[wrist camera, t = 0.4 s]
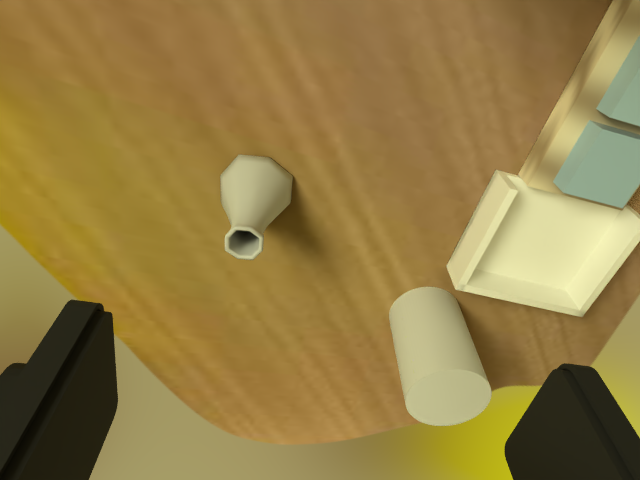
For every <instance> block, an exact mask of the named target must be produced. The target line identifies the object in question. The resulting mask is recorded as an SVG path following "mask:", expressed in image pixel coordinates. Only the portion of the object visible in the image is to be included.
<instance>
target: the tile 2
mask: <svg viewBox="0 0 640 480" xmlns="http://www.w3.org/2000/svg"><path fill="white" fill-rule="evenodd" d="M596 109H597V110H599V111H600V112H602V113H603V114H605V115H607V116H608V117H610V118H613V119H617V120H620V121H624V122H627V123H630V124H634V125H637V126H640V35H639V37H638V39H637V40H636V42H635V44H634V45H633V47H632V49H631V50H630V52H629V54H628V56H627V57H626V59H625V61H624V62H623V64H622V66H621V67H620V69H619V71H618V72H617V74H616V76H615V77H614V79H613V81H612V83H611V84H610V86H609V88H608V89H607V91H606V93H605V94H604V96H603V98H602V99H601V101H600V103H599V105H598V106H597V108H596Z"/></svg>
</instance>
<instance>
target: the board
mask: <svg viewBox="0 0 640 480" xmlns="http://www.w3.org/2000/svg"><path fill="white" fill-rule="evenodd" d="M639 35H640V0H613V1H612V3H611V5H610V6H609V8H608V10H607V12H606V14H605V16H604V18H603V19H602V21H601V23H600V25H599V27H598V29H597V30H596V32H595V34H594V36H593V38H592V40H591V41H590V43H589V45H588V47H587V49H586V51H585V52H584V54H583V56H582V58H581V60H580V62H579V63H578V65H577V67H576V69H575V71H574V73H573V74H572V76H571V78H570V80H569V82H568V84H567V86H566V87H565V89H564V91H563V93H562V95H561V97H560V98H559V100H558V102H557V104H556V106H555V108H554V109H553V111H552V113H551V115H550V117H549V119H548V120H547V122H546V124H545V126H544V128H543V130H542V131H541V133H540V135H539V137H538V139H537V141H536V142H535V144H534V146H533V148H532V150H531V152H530V154H529V155H528V157H527V159H526V161H525V163H524V165H523V166H522V168H521V170H520V172H519V174H518V175H519V176H520V177H521V179H522V180H523V181H524V182H525V183H526V185H527V186H529V187H533V188H537V189H541V190H545V191H548V192H552V193H556V194H560V195H564V196H568V197H571V198H575V199H579V200H583V201H587V202H591V203H594V204H598V205H602V206H606V207H610V208H613V209H617V210H621V211H622V210H623V209H624V208H625V206H626V205H627V203H628V202H629V200H630V199H631V198H632V196H633V195H634V193H635V192H636V190H637V189H638V188H639V186H640V184H639V186H638V187H637V189H636V190H635V192H634V193H633V194H632V196H631V197H630V199H629V200H628V202H627V203H626V204H625V206H624V207H623V208H619V207H616V206H612V205H608V204H604V203H600V202H596V201H593V200H589V199H585V198H581V197H577V196H574V195H570V194H566V193H563V192H562V191H561V190H560V189H559V188H558V187H557V186H556V185H555V184H554V182H553V181H554V179H555V177H556V175H557V174H558V172H559V170H560V169H561V167H562V165H563V164H564V162H565V160H566V159H567V157H568V155H569V154H570V152H571V150H572V148H573V147H574V145H575V143H576V142H577V140H578V138H579V137H580V135H581V133H582V132H583V130H584V128H585V126H586V125H587V123H588V121H589V120H591V121H594V122H598V123H601V124H605V125H608V126H612V127H615V128H619V129H622V130H625V131H629V132H632V133H636V134H639V135H640V126H637V125H634V124H630V123H627V122H624V121H620V120H617V119H613V118H610V117H608V116H607V115H605V114H603V113H602V112H600V111H599V110H597V109H596V108H597V106H598V105H599V103H600V101H601V99H602V98H603V96H604V94H605V93H606V91H607V89H608V88H609V86H610V84H611V83H612V81H613V79H614V77H615V76H616V74H617V72H618V71H619V69H620V67H621V66H622V64H623V62H624V61H625V59H626V57H627V56H628V54H629V52H630V50H631V49H632V47H633V45H634V44H635V42H636V40H637V39H638V37H639Z"/></svg>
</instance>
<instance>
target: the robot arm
mask: <svg viewBox="0 0 640 480" xmlns="http://www.w3.org/2000/svg"><path fill="white" fill-rule="evenodd" d="M117 403H118V394H117V379H116V364H115V348H114V333H113V317H112V313H111V312H105V311H104V308H103V305H102V304H100V303H93V302H85V301H78V300H70V301H69V302H68V303H67V304H66V305H65V307H64V308H63V310H62V311H61V313H60V314H59V316H58V317H57V318H56V320H55V322H54V323H53V325H52V326H51V328H50V329H49V331H48V332H47V334H46V335H45V337H44V338H43V340H42V341H41V343H40V344H39V346H38V347H37V349H36V350H35V352H34V353H33V355H32V356H31V358H30V359H29V361H28V363H27V364H24V363H13V364H11V365H10V366H9V367H7V368H6V369H5V370H4V372H3V373H2V374H1V375H0V480H89V478H90V475H91V473H92V470H93V468H94V465H95V463H96V460H97V458H98V455H99V453H100V451H101V448H102V446H103V443H104V441H105V438H106V436H107V433H108V431H109V428H110V426H111V424H112V421H113V419H114V416H115V413H116V409H117ZM505 457H506V461H507V463H508V466H509V469H510V472H511V474H512V477H513V480H640V438H639V436H638V435H637V434H636V432H635V430H634V429H633V427H632V426H631V424H630V422H629V421H628V419H627V418H626V416H625V414H624V413H623V411H622V410H621V408H620V407H619V405H618V404H617V402H616V400H615V399H614V397H613V396H612V394H611V393H610V391H609V389H608V388H607V386H606V385H605V383H604V382H603V380H602V378H601V377H600V375H599V374H598V372H597V371H596V370H595V369H594V368H592V367H589V366H581V365H574V364H562V365H560V366H559V367H558V368H557V369H554V370H553V371H552V372H551V373H550V374H549V376H548V378H547V379H546V381H545V382H544V384H543V385H542V387H541V388H540V390H539V392H538V393H537V395H536V396H535V398H534V399H533V401H532V402H531V404H530V406H529V407H528V409H527V410H526V412H525V413H524V415H523V416H522V418H521V419H520V421H519V423H518V424H517V426H516V427H515V429H514V430H513V432H512V433H511V435H510V437H509V438H508V440H507V441H506V444H505Z"/></svg>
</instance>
